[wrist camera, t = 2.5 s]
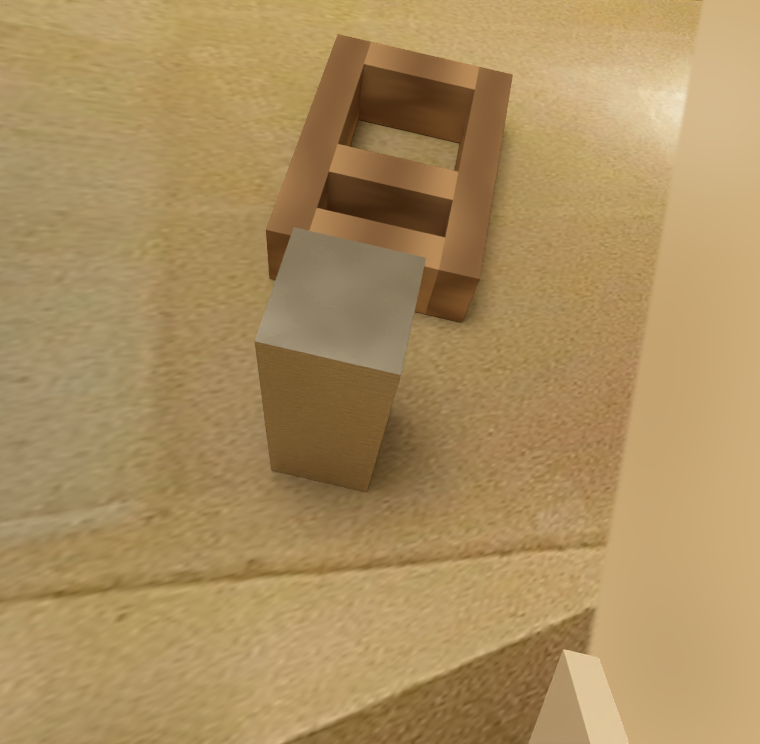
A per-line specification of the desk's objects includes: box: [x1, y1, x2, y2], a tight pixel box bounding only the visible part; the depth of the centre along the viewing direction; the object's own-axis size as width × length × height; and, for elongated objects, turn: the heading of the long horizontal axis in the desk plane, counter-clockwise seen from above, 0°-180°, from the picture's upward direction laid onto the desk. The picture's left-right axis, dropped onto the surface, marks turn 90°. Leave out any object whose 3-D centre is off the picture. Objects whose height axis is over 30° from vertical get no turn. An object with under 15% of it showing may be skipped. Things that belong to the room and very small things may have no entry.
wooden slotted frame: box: [266, 34, 513, 322], centre depth 37 cm, size 10×15×4 cm
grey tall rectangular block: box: [255, 227, 426, 492], centre depth 26 cm, size 4×4×12 cm
